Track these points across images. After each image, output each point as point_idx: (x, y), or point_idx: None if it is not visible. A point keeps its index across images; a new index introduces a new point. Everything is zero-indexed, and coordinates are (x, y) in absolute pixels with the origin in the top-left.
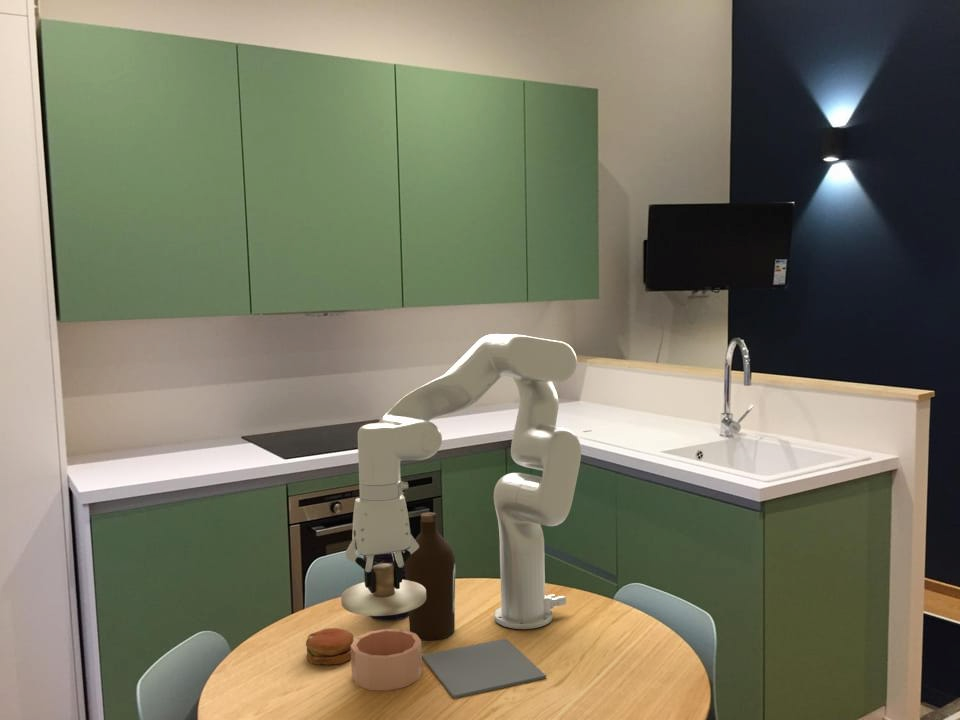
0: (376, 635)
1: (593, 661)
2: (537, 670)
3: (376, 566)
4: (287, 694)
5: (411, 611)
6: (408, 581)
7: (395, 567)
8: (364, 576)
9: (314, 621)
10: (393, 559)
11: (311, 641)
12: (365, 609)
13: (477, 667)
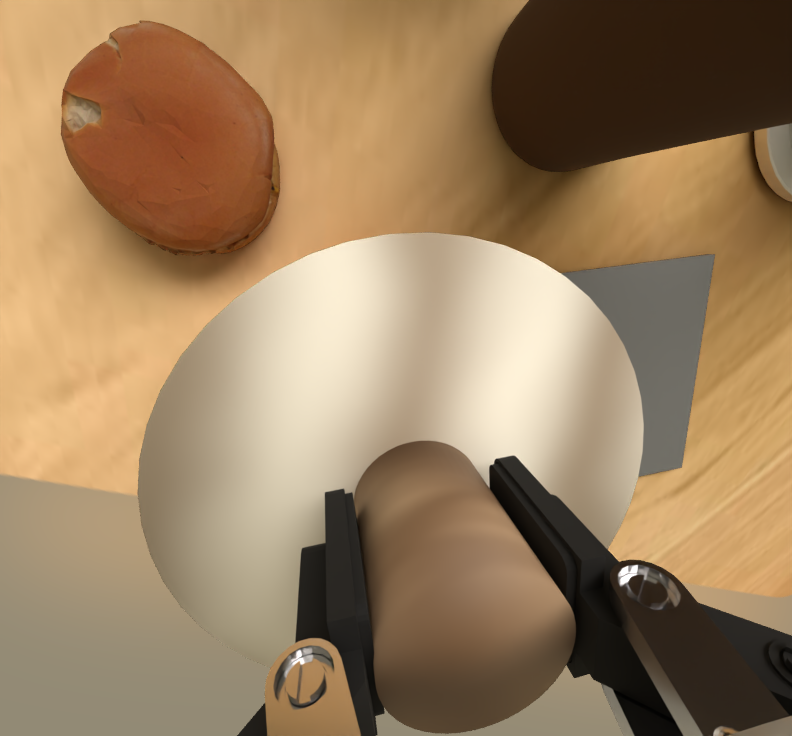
0: None
1: (788, 418)
2: (680, 443)
3: (424, 645)
4: (73, 400)
5: (537, 78)
6: (603, 340)
7: (575, 654)
8: (298, 600)
9: None
10: (624, 617)
11: (86, 171)
12: None
13: None
